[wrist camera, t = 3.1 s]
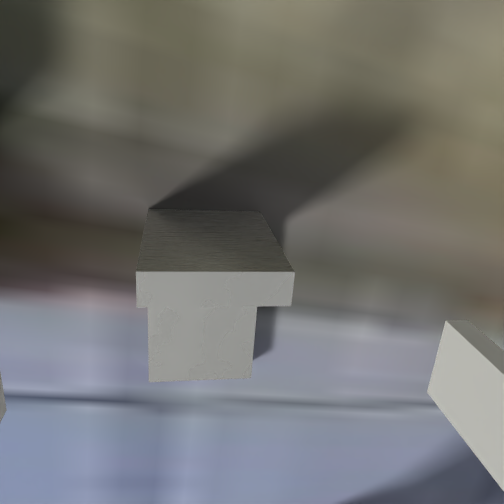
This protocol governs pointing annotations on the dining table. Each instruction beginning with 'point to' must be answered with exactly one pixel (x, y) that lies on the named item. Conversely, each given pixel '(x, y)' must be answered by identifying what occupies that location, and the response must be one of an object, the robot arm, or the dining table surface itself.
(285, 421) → the dining table surface
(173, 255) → the aluminium bracket
